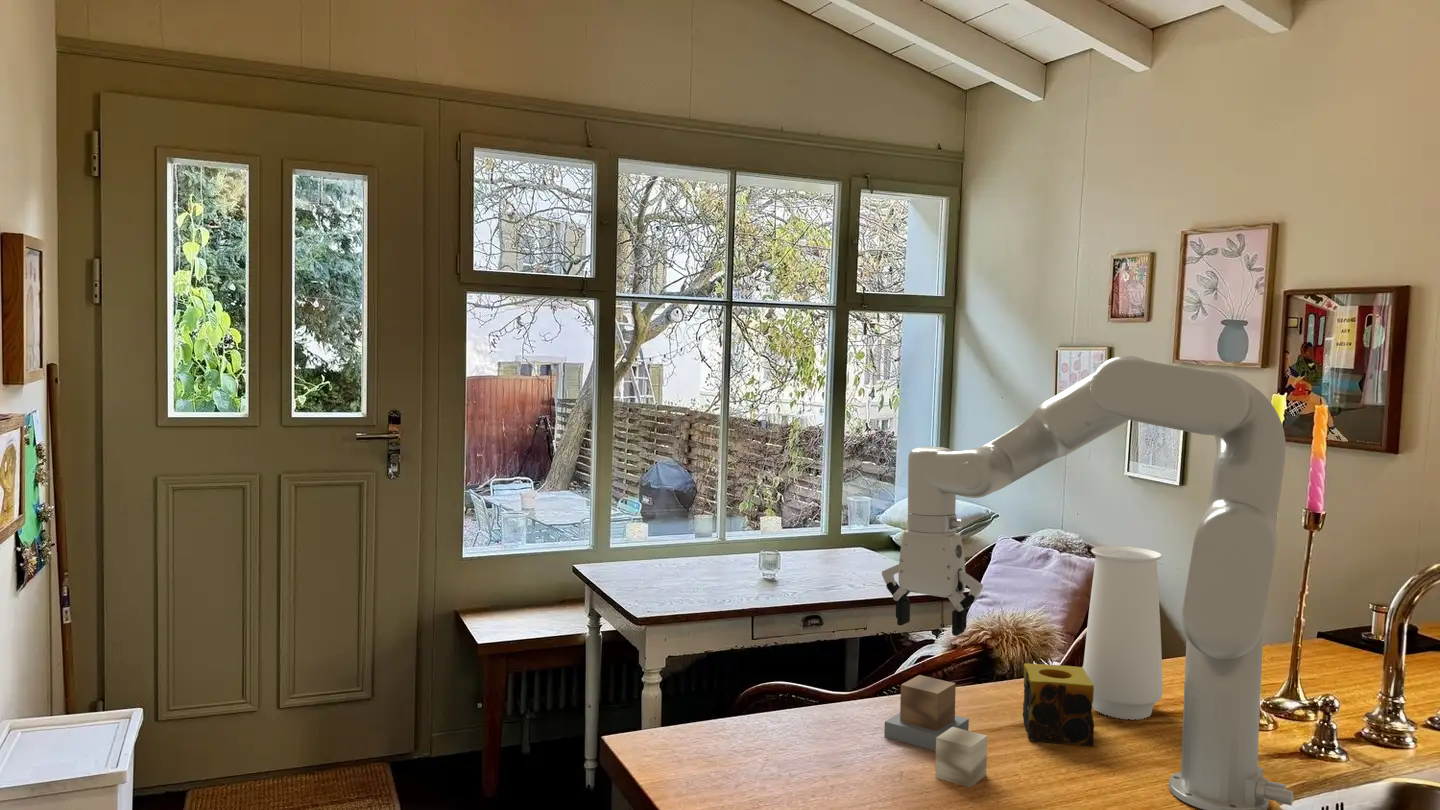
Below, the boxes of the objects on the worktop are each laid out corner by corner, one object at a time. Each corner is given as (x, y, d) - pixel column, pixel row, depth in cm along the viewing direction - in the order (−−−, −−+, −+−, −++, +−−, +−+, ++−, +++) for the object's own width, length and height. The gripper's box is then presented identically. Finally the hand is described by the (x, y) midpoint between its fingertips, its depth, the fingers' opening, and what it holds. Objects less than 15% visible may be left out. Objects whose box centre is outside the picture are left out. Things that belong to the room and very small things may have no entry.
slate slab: (968, 733, 160) (968, 718, 160) (941, 752, 153) (941, 736, 152) (913, 719, 167) (913, 704, 166) (884, 736, 159) (884, 721, 159)
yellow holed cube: (1094, 748, 155) (1096, 686, 155) (1028, 742, 157) (1029, 681, 157) (1083, 724, 165) (1085, 666, 165) (1021, 719, 167) (1023, 661, 167)
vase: (1171, 725, 165) (1176, 561, 164) (1090, 720, 167) (1095, 557, 166) (1149, 699, 178) (1154, 546, 176) (1075, 694, 180) (1079, 543, 178)
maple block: (986, 775, 145) (987, 735, 144) (970, 788, 140) (971, 747, 140) (951, 765, 148) (952, 726, 148) (935, 777, 144) (936, 737, 143)
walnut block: (954, 719, 160) (955, 683, 160) (936, 731, 155) (937, 693, 155) (918, 710, 164) (919, 674, 164) (900, 721, 159) (900, 684, 159)
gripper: (992, 526, 155) (990, 633, 156) (894, 515, 166) (893, 615, 167) (972, 532, 150) (970, 643, 150) (872, 521, 160) (871, 624, 161)
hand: (930, 628), depth 159 cm, fingers open, 9 cm apart
